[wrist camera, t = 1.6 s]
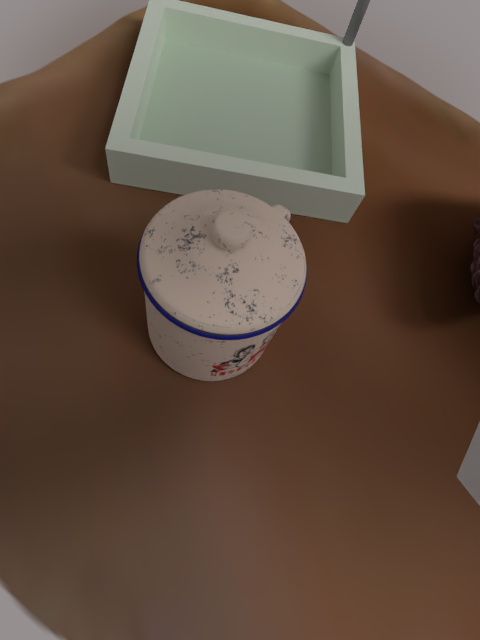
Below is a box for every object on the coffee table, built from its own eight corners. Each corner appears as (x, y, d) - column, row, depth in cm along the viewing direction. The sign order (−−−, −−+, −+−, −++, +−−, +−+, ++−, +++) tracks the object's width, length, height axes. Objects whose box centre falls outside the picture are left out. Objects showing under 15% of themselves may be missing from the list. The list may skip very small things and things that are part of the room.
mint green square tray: (341, 73, 44) (413, -109, 31) (347, 223, 36) (451, 59, 23) (152, 32, 42) (146, -181, 29) (110, 182, 34) (76, -26, 21)
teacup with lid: (221, 413, 27) (257, 352, 17) (116, 331, 28) (87, 227, 18) (313, 291, 32) (384, 187, 22) (221, 226, 34) (246, 97, 23)
